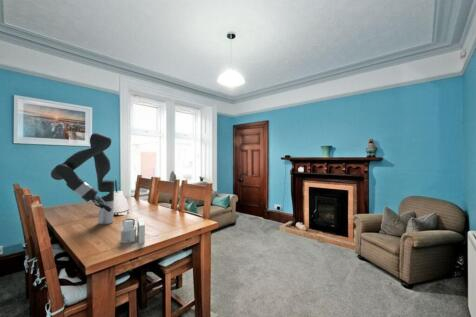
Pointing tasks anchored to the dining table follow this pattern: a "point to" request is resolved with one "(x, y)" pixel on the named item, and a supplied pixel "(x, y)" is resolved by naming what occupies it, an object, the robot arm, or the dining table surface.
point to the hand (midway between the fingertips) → (110, 210)
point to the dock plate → (141, 230)
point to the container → (128, 231)
